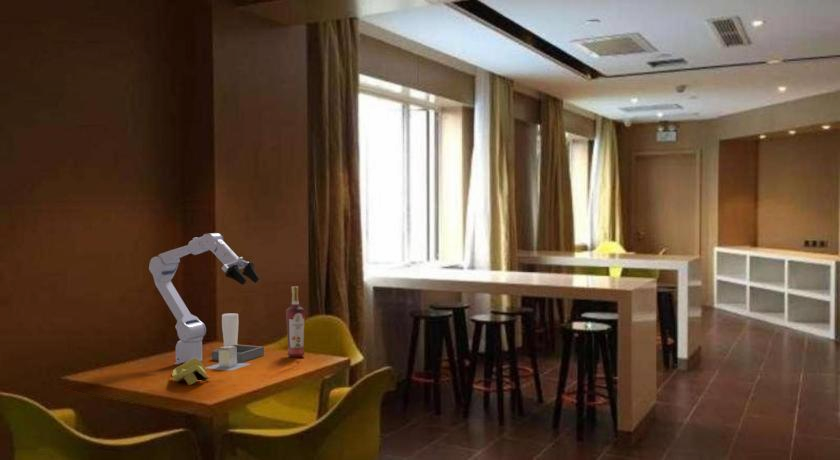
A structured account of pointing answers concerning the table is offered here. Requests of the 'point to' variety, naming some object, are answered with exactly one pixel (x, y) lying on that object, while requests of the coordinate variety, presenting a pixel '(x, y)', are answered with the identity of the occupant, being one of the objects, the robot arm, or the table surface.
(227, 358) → the light grey block
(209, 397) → the table surface
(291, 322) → the liquor
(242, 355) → the bin
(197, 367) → the plastic component
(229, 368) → the base
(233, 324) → the drinking glass
